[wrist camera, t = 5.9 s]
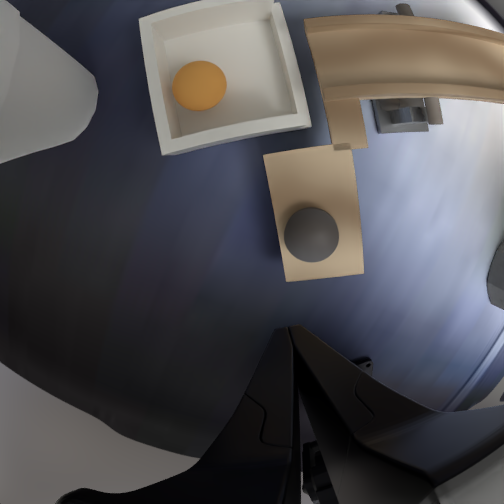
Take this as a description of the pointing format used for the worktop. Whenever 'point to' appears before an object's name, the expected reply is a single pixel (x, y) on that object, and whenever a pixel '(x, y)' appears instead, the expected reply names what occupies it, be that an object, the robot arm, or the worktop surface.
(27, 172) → the worktop surface
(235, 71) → the dish
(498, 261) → the coffeepot
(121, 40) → the worktop surface
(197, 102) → the ball
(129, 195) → the worktop surface
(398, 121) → the fulcrum
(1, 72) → the foam cup
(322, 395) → the robot arm
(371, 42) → the lever
